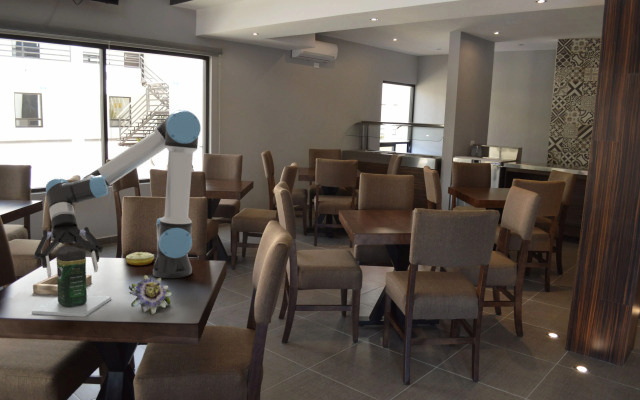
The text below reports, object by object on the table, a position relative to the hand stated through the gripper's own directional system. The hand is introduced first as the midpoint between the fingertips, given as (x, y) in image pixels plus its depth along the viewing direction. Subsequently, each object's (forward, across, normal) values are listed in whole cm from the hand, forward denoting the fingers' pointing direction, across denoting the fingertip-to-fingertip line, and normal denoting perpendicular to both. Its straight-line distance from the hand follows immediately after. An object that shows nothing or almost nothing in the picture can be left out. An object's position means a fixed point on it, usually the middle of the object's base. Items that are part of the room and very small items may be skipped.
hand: (73, 272), depth 165 cm
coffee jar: (+6, 0, -9) cm, 11 cm away
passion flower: (+18, -20, +1) cm, 27 cm away
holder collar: (-10, -1, -26) cm, 28 cm away
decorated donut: (-26, -35, -43) cm, 61 cm away
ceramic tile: (+7, 0, -10) cm, 12 cm away
